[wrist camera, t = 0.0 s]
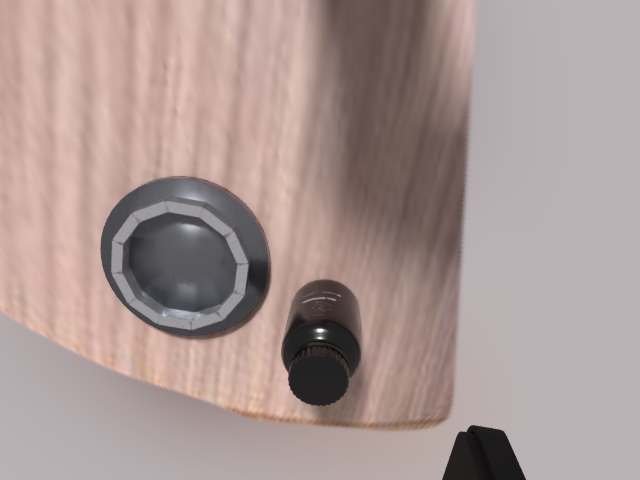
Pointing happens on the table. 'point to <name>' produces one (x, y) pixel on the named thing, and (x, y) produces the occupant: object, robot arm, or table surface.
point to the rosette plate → (185, 255)
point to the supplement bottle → (322, 342)
